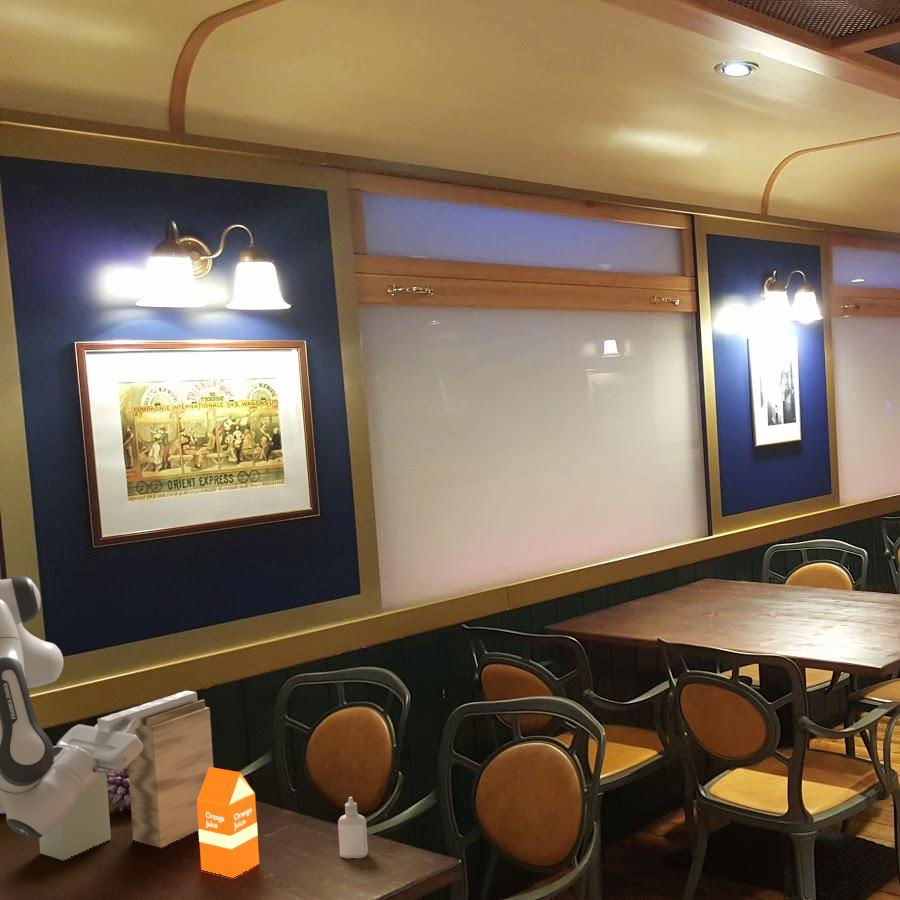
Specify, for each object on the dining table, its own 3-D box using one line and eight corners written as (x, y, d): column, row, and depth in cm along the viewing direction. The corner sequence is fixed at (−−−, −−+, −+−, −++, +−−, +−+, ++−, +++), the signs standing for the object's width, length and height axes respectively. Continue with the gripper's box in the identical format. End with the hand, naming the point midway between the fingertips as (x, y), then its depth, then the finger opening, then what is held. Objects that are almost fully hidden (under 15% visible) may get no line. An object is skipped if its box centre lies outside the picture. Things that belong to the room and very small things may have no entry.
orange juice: (232, 879, 205) (226, 778, 204) (200, 871, 210) (194, 772, 209) (260, 863, 212) (254, 766, 211) (228, 856, 216) (222, 760, 216)
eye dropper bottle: (356, 862, 210) (352, 803, 209) (336, 856, 213) (333, 798, 213) (371, 854, 213) (367, 796, 213) (351, 848, 217) (348, 791, 216)
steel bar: (98, 735, 218) (97, 718, 218) (187, 705, 238) (186, 690, 237) (109, 737, 216) (108, 720, 216) (197, 707, 236) (196, 692, 235)
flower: (110, 823, 238) (107, 771, 238) (99, 808, 249) (96, 758, 248) (161, 811, 244) (158, 761, 244) (148, 796, 254) (145, 748, 254)
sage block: (40, 853, 223) (35, 783, 223) (87, 833, 233) (83, 766, 233) (63, 860, 219) (58, 789, 218) (110, 839, 229) (106, 771, 228)
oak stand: (133, 840, 227) (124, 715, 227) (189, 815, 241) (181, 696, 240) (160, 848, 222) (152, 719, 222) (216, 821, 236) (209, 700, 235)
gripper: (105, 764, 205) (151, 713, 214) (42, 750, 216) (88, 702, 226) (120, 786, 207) (165, 735, 217) (57, 771, 219) (102, 723, 228)
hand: (125, 718), depth 221 cm, fingers open, 5 cm apart
